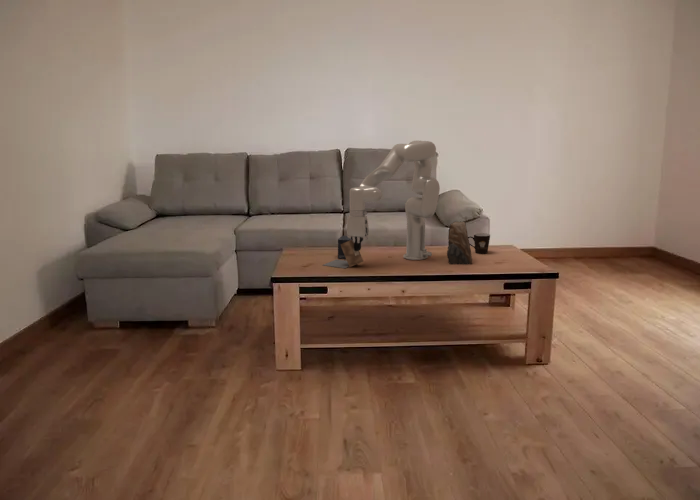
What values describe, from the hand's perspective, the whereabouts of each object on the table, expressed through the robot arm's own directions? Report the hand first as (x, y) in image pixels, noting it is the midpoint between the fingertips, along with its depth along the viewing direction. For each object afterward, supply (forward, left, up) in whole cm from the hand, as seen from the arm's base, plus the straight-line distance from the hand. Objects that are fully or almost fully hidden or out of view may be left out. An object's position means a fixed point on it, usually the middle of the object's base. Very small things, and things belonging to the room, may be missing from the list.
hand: (357, 250), depth 287 cm
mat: (+10, 0, -8) cm, 13 cm away
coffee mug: (-42, -58, -8) cm, 72 cm away
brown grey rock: (-41, -32, -8) cm, 53 cm away
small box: (+16, -15, -8) cm, 24 cm away
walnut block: (+1, 0, -7) cm, 7 cm away
